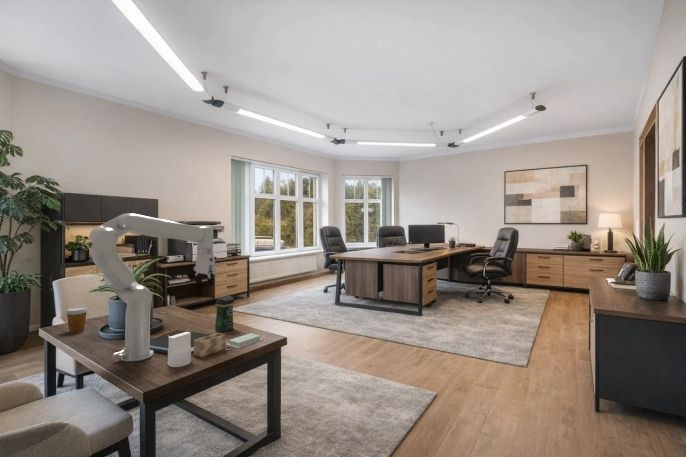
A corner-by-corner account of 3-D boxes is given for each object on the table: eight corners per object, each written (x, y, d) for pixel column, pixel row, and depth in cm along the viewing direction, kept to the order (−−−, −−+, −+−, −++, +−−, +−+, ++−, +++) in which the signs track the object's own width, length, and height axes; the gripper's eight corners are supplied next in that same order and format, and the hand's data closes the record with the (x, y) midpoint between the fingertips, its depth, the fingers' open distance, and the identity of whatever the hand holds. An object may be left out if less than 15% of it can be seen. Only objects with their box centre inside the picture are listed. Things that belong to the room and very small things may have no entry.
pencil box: (200, 357, 158) (200, 342, 158) (194, 355, 161) (194, 339, 161) (225, 349, 169) (225, 334, 169) (218, 347, 171) (218, 332, 171)
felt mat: (238, 348, 170) (238, 347, 170) (226, 344, 175) (226, 343, 175) (263, 339, 183) (263, 339, 183) (251, 336, 188) (251, 335, 188)
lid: (238, 346, 172) (238, 343, 172) (228, 343, 175) (229, 340, 175) (260, 339, 183) (260, 335, 183) (250, 336, 187) (250, 333, 187)
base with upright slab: (176, 368, 146) (177, 339, 146) (163, 364, 150) (163, 335, 150) (195, 361, 154) (195, 333, 154) (181, 357, 158) (182, 330, 158)
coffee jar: (223, 333, 193) (223, 299, 193) (212, 330, 196) (213, 297, 196) (236, 328, 202) (236, 295, 201) (225, 326, 205) (226, 294, 205)
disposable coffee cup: (70, 329, 195) (70, 307, 194) (90, 327, 198) (90, 306, 197) (62, 334, 186) (62, 311, 185) (83, 332, 188) (83, 310, 188)
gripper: (222, 251, 178) (221, 286, 178) (201, 249, 187) (200, 282, 188) (209, 252, 171) (208, 288, 172) (188, 250, 181) (187, 284, 181)
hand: (204, 285), depth 180 cm, fingers open, 9 cm apart
